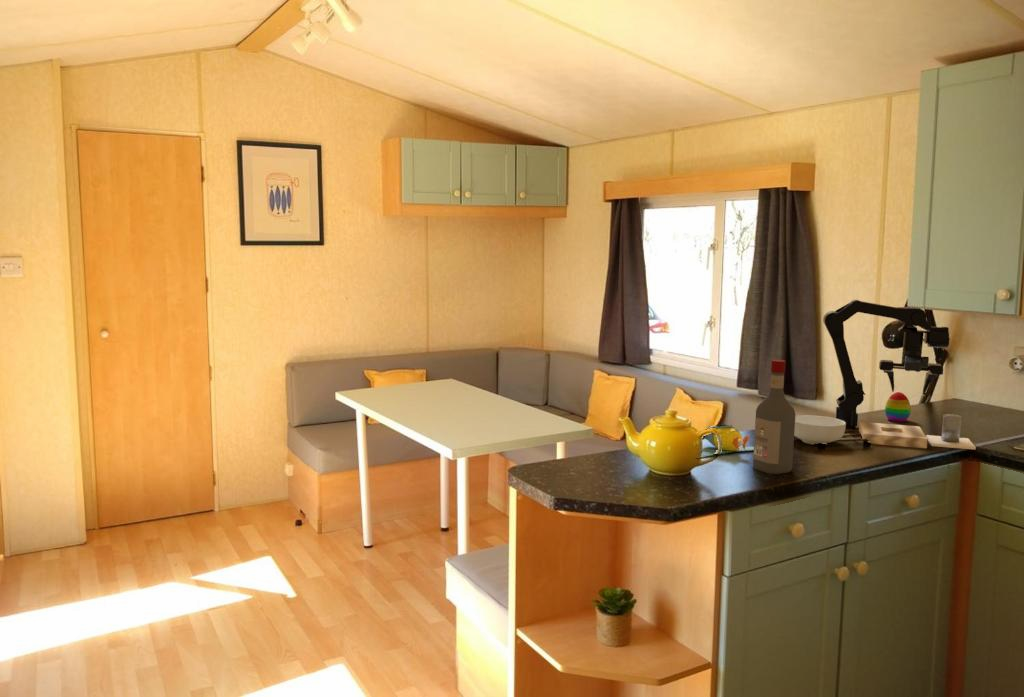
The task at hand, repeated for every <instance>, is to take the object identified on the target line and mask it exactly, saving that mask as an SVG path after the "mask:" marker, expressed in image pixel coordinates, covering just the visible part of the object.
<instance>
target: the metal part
mask: <svg viewBox="0 0 1024 697" xmlns="http://www.w3.org/2000/svg"><path fill="white" fill-rule="evenodd" d="M961 426H962V416H961V415H959V414H954V413H953V414H952V413H945V414H943V416H942V428H941V436H942V437H941V440H942V441H944V442H950V443H958V442H959V439H960V438H961V428H962V427H961Z"/></svg>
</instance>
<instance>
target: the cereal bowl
mask: <svg viewBox="0 0 1024 697" xmlns="http://www.w3.org/2000/svg"><path fill="white" fill-rule="evenodd" d="M845 427H846V423H845V422H844V421H842V420H840V419H836V418H835V417H831V416H825V415H823V416H822V415H813V414H812V415H811V414H806V415H805V414H801V415H795V431H794V438H797V439H799V440H801V441H802V442H803V443H805V444H808V445H814V444H815V443H828V442H829V443H833V442H835V441H838V440H840V439H841V438H842V437H843V436H844V434H845V432H846V428H845Z"/></svg>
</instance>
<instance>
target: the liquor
mask: <svg viewBox="0 0 1024 697" xmlns="http://www.w3.org/2000/svg"><path fill="white" fill-rule="evenodd" d="M770 365H771V368H770V372H771V373H770V376H771V377H770V388H769V389H770V390H769V392H768V395H767V396H766V397H765V398H764V399H763V400H762V401H761V402H760V403H759V404H758V405H757V407H756V409H755V422H754V423H755V424H754V439H753V441H754V442H753V447H754V450H753V457H752V467H753V468H754V470H757V471H760V472H763V473H766V474H771V475H772V474H773V475H781V474H785V473H790V472H792V470H793V464H794V463H793V461H794V460H793V459H794V448H795V446H794V442H795V436H794V431H795V416H797V415H796V411H795V408H794V406H793V405H792V404H791V403H790V402H789V400H788V399H787V398H786V396H785V391H784V386H785V385H784V384H785V373H786V360H784V359H772V360H771V364H770Z"/></svg>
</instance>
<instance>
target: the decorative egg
mask: <svg viewBox="0 0 1024 697" xmlns="http://www.w3.org/2000/svg"><path fill="white" fill-rule="evenodd" d="M911 406H912V405H911V402H910V400H909V398H908V397H907V396H906V395H905V394H904V393H903V392H901V391H898V392H893V394H891V395H890V396H889V397H888V399H887V401H886V402H885V407H884V412H885V415H886V418H887V419H888V420H889V421H891V422H895V423H896V422H897V423H898V422H899V423H904V422H906V421H907V420H908V419H909V418H910V415H911V411H912V410H911Z"/></svg>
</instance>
